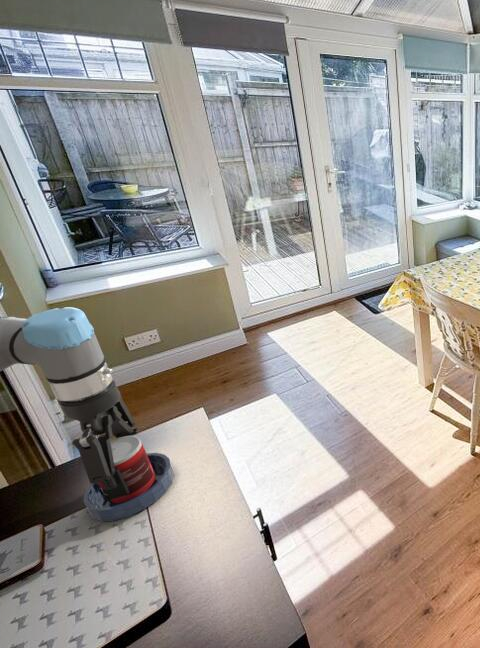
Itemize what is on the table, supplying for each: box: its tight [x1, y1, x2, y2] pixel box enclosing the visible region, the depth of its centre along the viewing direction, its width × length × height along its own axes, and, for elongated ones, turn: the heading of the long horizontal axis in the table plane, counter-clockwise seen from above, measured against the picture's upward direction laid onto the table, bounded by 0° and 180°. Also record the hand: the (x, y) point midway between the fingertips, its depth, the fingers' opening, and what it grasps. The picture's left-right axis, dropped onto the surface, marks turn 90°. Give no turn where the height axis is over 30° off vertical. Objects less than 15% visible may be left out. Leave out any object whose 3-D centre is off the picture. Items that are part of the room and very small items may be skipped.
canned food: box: [98, 435, 156, 505], centre depth 83 cm, size 8×8×11 cm
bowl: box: [83, 452, 175, 522], centre depth 85 cm, size 13×13×4 cm
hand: (127, 478), depth 84 cm, fingers closed on canned food, 8 cm apart
